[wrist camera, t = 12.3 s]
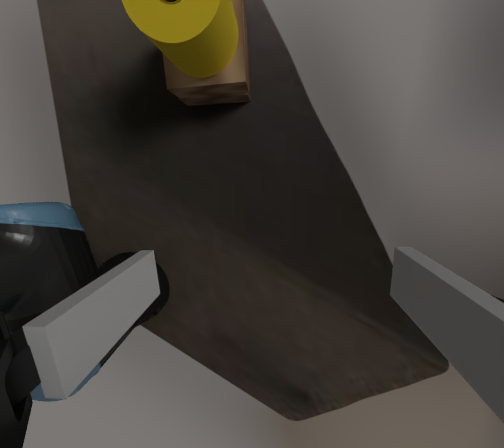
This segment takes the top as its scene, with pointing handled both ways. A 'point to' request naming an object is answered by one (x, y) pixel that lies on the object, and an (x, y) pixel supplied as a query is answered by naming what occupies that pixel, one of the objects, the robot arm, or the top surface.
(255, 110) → the top surface
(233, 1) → the tower block top
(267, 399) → the top surface
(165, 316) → the top surface
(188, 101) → the tower block bottom
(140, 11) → the yellow toilet paper roll
